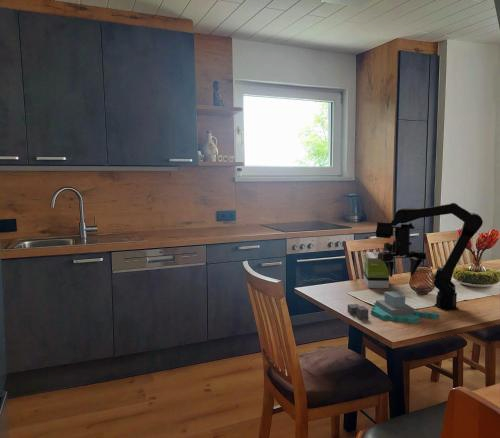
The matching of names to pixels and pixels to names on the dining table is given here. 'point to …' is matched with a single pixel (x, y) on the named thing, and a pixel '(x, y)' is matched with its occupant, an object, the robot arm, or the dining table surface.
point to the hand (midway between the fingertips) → (401, 276)
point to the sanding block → (394, 304)
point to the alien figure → (402, 318)
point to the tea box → (375, 271)
